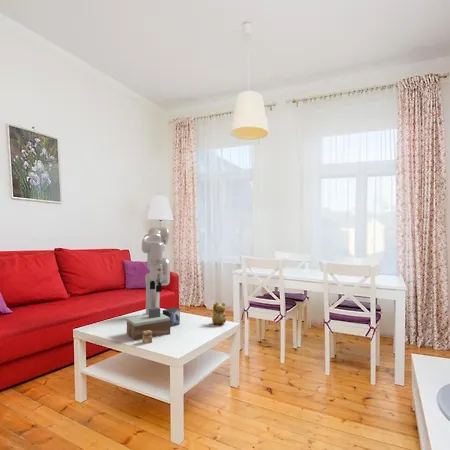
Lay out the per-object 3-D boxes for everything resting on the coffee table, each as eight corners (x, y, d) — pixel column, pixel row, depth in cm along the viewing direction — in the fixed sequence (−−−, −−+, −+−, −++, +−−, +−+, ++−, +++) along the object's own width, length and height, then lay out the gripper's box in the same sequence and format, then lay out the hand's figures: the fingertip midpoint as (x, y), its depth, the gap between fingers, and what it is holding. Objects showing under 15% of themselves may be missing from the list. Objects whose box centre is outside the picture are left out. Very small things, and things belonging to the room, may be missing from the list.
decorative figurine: (226, 322, 219) (227, 300, 220) (225, 326, 211) (225, 303, 211) (212, 322, 221) (213, 300, 221) (210, 325, 212) (211, 303, 213)
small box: (168, 328, 206) (168, 311, 206) (161, 326, 210) (161, 310, 210) (180, 324, 215) (180, 308, 215) (173, 322, 219) (173, 307, 219)
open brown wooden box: (126, 333, 194) (126, 320, 194) (160, 327, 206) (161, 315, 206) (134, 340, 182) (134, 326, 182) (170, 333, 195) (170, 320, 195)
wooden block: (149, 340, 183) (149, 329, 183) (152, 342, 180) (152, 331, 180) (142, 341, 181) (142, 331, 181) (145, 344, 177) (145, 333, 177)
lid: (126, 320, 194) (126, 309, 194) (160, 315, 207) (160, 304, 207) (134, 326, 183) (135, 314, 183) (169, 320, 196) (170, 309, 196)
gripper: (167, 263, 192) (167, 292, 192) (156, 260, 206) (155, 287, 206) (155, 264, 188) (155, 293, 187) (144, 261, 202) (144, 288, 202)
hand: (155, 290), depth 197 cm, fingers open, 9 cm apart
